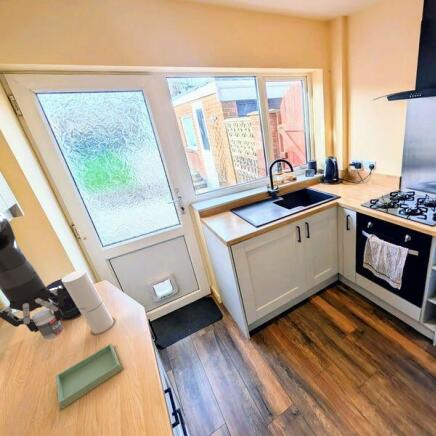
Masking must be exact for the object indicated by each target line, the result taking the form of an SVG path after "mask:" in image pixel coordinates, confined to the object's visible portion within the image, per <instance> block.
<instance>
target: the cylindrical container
mask: <svg viewBox="0 0 436 436" xmlns="http://www.w3.org/2000/svg"><path fill="white" fill-rule="evenodd" d="M61 279H62V282H63V284H64V286H65V287H66V289H67V291H68V292H69V294H70V296H71V297H72V299H73V301H74V302H75V304H76V306H77V307H78V309H79V311H80V312H81V316H82V317H83V319H84V321H85V322H86V324H87V325H88V327H89V329H90V331H91V332H92V333H93V335H94V334H95V335H98V334H101V333H104V332H106V331H107V330H109V329H110V328H111V327H112V326H113V325H114V320H113V318H112V315H111V314H110V312H109V310H108V308H107V305H105V303H104V301H103V299H102V297H101V295H100V293H99V292H98V290H97V288H96V286H95V283H94V282H93V280H92V279H91V277H90V275H89V273H88V271H87V270H86V269H79V270H74V271H72V272H70V273H67V274H66V275H65V276H63V277H62V278H61Z"/></svg>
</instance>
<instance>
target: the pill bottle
mask: <svg viewBox="0 0 436 436" xmlns="http://www.w3.org/2000/svg"><path fill="white" fill-rule="evenodd" d="M31 319H33V320H34V322H35V325H36V327H37V328H38V330H39V331H38V332H39V333H40V334H41V335H42V337H43V338H44V339H45V340H46V341H47V340H53V339H55V338H58V337H59V336H60V335H61V334H62V333H63V332H64V331H65V326H64V325H63V324H62V322H61V321H58V319H57V318H56V316H55V315H54V313H53V311H52V310H51V309H49V308H42V309H41V310H38V311H37V312H35V313H33V315H32V317H31Z"/></svg>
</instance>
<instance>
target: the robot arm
mask: <svg viewBox="0 0 436 436" xmlns="http://www.w3.org/2000/svg"><path fill="white" fill-rule="evenodd" d="M0 291H1V293H2V294H3V295H4V296H5V298H6V300H7V301H8V302H9V305H7V306H6V307H5V308H4V307H3V308H0V318H1V319H2V320H3V321H6V323H8V324H10V325H12V326H13V327H14V328H17V327H19V326H22V325H25V326H26V327H27V329H28V330H29V331H30V332H32V333H33V332H34V333H37V332H40V331H39V330H38V328H37V327H36V325H35V321H34V320H33V318H32V317H31V312H33V311H35V310H36V309H40V308H42V307H44V308H45V309H47V308H49V309H50V310H51V311H52V313H54V315H55V316H56V318H57V319H58V321H60V322H61V321H63V320H62V318H63V313H62V312H61V310H60V307H62V306H64V305H65V302H64V295H63V289H62V286H61V285H59V286H57V288H52V289H49V288H47V285H45V283H44V282H43V280H42V279H41V277H40V275H39V274H38V272H37V271H36V269H35V267H34V266H33V264H32V263H31V262H30V261H29V260H28V259H27V257H26V256H25V254H24V253H23V251H22V249H21V248H20V247H19V245H18V242H17V239H16V235H15V232H14V229H13V227H12V225H11V223H10V221H9V220H8V218H7V217H6V216H5V215H4V214H2V213H1V212H0ZM50 293H54V295H58V299H59V302H58V303H54V302H53V301H52V300H50V299H49V296H50ZM13 310H15V311H20V312H22V317H21V318H20V317H18V316H17V315H15V314H14V313H13Z"/></svg>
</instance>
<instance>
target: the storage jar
mask: <svg viewBox="0 0 436 436" xmlns="http://www.w3.org/2000/svg"><path fill="white" fill-rule="evenodd" d="M62 279H63V278H60V279H57V280H55V281H53V282H51V283H49V284H47V285H46V287H47V288H49V289H52V288H57V286H59V285H61V286H62V289H63V295H64V302H65V305H64V306H62V307H60V310H61V312H62V313H63V318H62V320H61V321H69V320H73V319H75V318H78V317H79V316H82V314H81V312H80V311H79V309H78V307H77V306H76V304H75V302H74V301H73V299H72V297H71V296H70V294H69V292H68V291H67V289H66V287H65V286H64V284H63V282H62ZM49 299H50V300H52V301H53V302H54V303H58V302H59V299H58V295H54V293H50V296H49Z"/></svg>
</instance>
